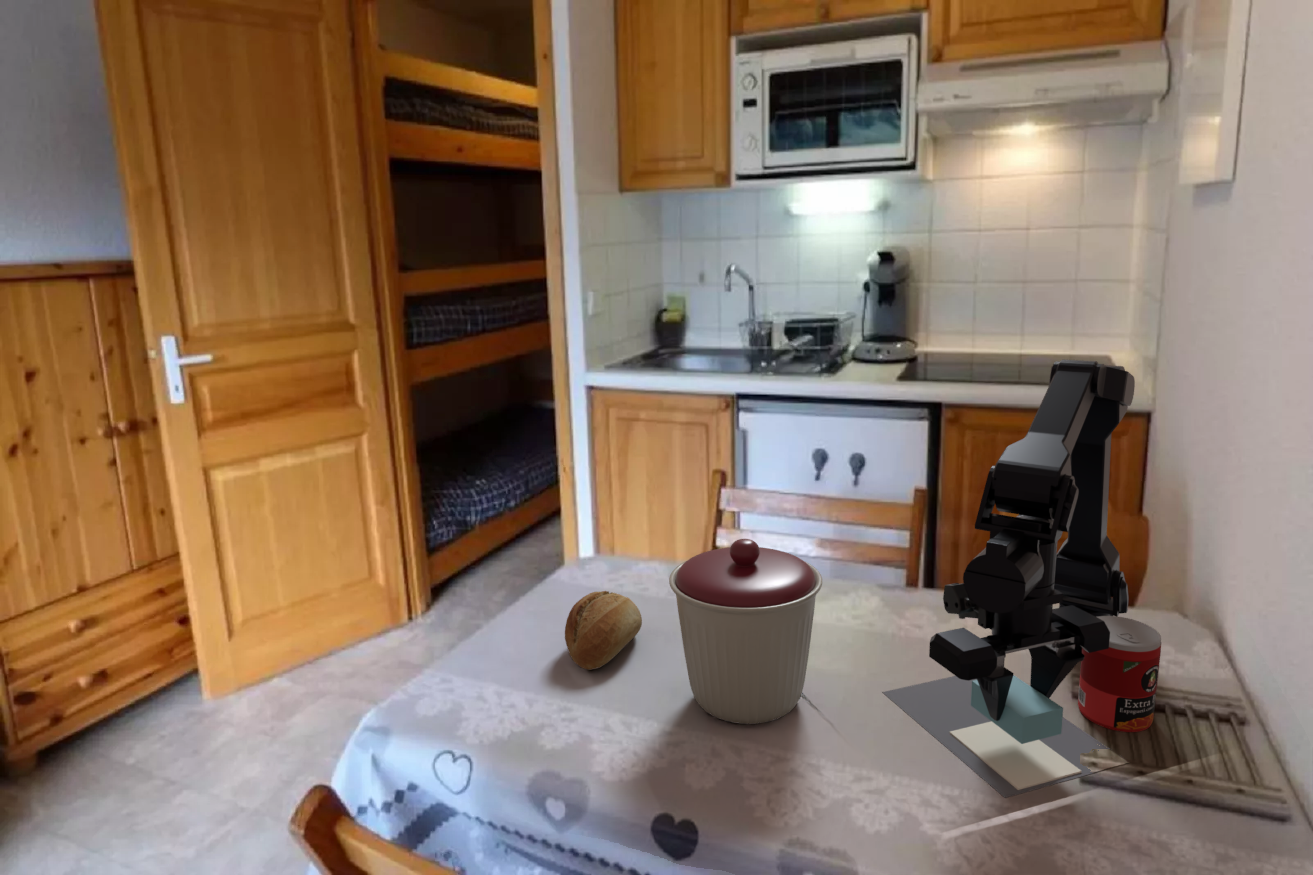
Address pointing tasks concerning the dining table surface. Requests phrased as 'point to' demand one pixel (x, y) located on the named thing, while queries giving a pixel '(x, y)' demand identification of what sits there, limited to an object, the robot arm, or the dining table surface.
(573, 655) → the bread roll
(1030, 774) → the mat
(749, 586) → the canister
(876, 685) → the dining table surface
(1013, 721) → the block
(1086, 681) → the canned food
